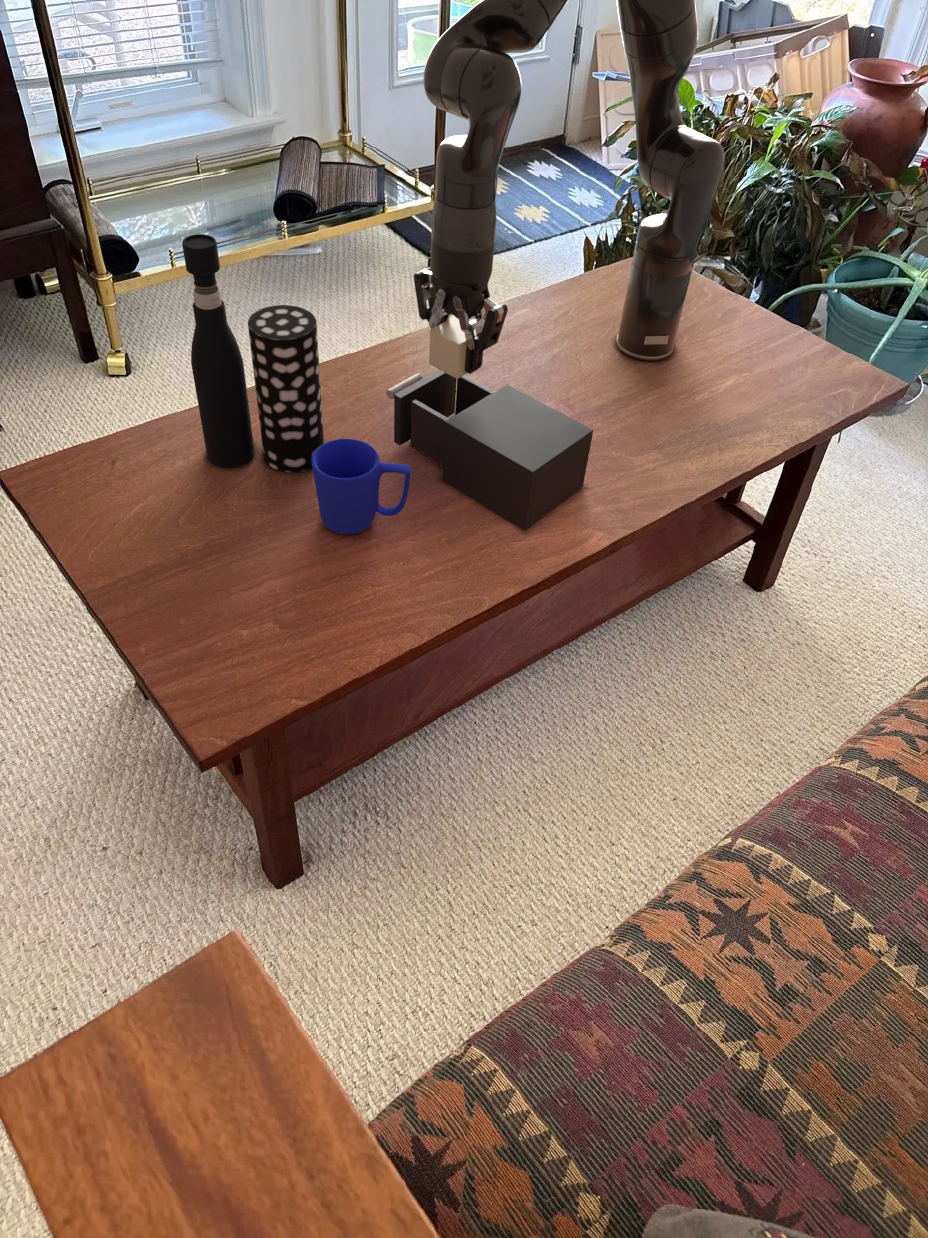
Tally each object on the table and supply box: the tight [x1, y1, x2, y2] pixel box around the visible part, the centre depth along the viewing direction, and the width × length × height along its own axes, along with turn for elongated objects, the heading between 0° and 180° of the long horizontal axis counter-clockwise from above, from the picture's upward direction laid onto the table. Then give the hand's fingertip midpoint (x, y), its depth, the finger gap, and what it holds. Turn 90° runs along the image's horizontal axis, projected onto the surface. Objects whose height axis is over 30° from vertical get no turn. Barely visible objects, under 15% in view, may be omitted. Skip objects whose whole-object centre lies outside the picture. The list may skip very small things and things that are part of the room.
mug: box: [311, 438, 412, 536], centre depth 119 cm, size 8×12×10 cm
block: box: [428, 316, 484, 379], centre depth 122 cm, size 5×5×5 cm
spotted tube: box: [247, 304, 325, 473], centre depth 124 cm, size 8×8×20 cm
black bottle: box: [181, 233, 256, 469], centre depth 119 cm, size 6×6×30 cm
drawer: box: [385, 369, 495, 466], centre depth 131 cm, size 18×11×8 cm, turn 48°
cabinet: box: [441, 383, 594, 532], centre depth 126 cm, size 15×13×10 cm
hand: (455, 361), depth 124 cm, fingers closed on block, 5 cm apart
